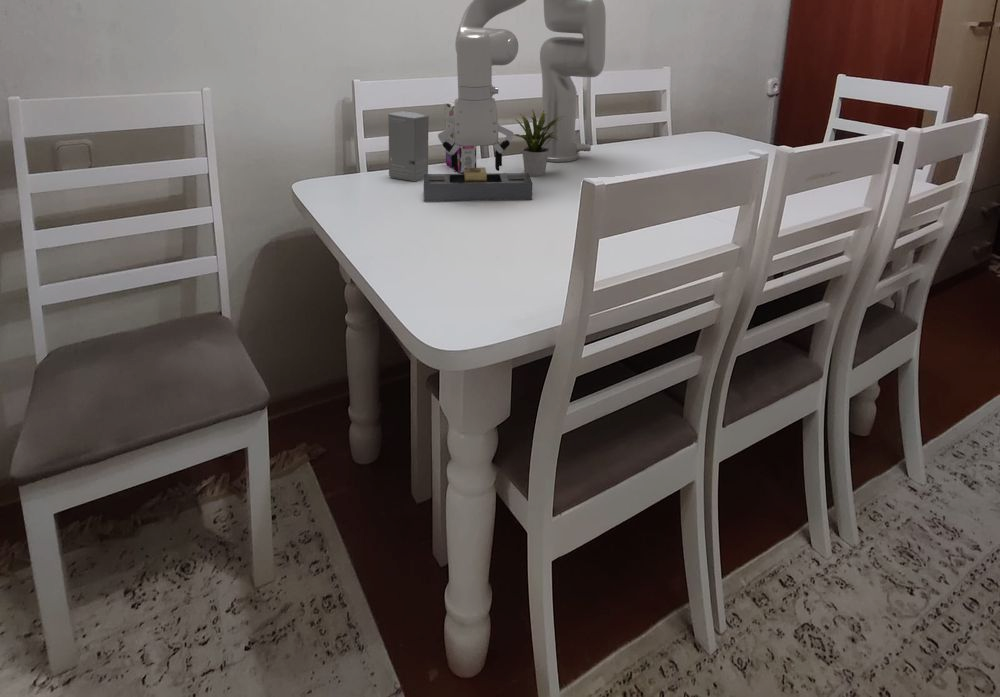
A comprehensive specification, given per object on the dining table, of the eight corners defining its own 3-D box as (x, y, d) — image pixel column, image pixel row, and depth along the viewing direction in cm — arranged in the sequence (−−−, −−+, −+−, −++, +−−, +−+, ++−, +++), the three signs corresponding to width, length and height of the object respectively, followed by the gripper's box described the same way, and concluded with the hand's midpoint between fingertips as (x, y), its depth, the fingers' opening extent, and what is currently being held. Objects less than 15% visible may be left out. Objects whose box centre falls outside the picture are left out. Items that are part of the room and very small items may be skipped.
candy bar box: (477, 172, 187) (477, 107, 180) (460, 173, 186) (459, 108, 178) (462, 162, 196) (461, 100, 189) (445, 164, 194) (443, 102, 187)
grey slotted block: (527, 189, 173) (528, 172, 171) (532, 199, 165) (532, 181, 163) (424, 190, 171) (424, 173, 169) (424, 201, 163) (423, 183, 161)
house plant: (565, 182, 179) (568, 115, 171) (510, 181, 179) (511, 114, 172) (562, 168, 192) (565, 105, 184) (510, 167, 192) (511, 104, 184)
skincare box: (388, 178, 181) (384, 114, 174) (404, 172, 187) (401, 109, 179) (416, 182, 178) (412, 117, 170) (431, 176, 183) (429, 112, 176)
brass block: (485, 192, 170) (485, 166, 167) (486, 198, 166) (486, 171, 163) (464, 192, 170) (464, 166, 167) (465, 198, 166) (464, 172, 163)
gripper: (512, 89, 161) (512, 164, 170) (436, 91, 160) (439, 166, 168) (515, 95, 155) (515, 173, 163) (436, 97, 154) (439, 175, 162)
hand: (476, 169), depth 166 cm, fingers open, 9 cm apart
